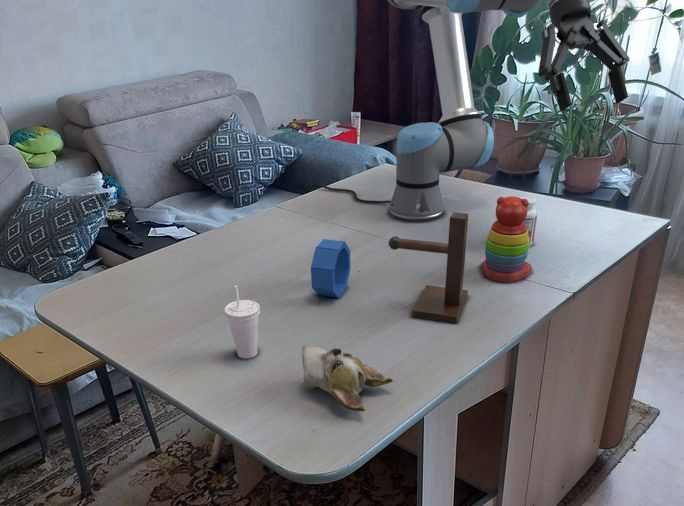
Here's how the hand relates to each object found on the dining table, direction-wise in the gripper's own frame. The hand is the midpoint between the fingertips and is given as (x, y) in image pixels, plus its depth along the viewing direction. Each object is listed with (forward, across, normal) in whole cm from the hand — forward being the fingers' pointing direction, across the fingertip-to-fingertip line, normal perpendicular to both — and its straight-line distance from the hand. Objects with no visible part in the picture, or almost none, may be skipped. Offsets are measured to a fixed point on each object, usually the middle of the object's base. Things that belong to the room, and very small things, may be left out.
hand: (594, 104), depth 128 cm
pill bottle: (+19, 0, +35) cm, 40 cm away
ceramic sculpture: (+43, -64, +2) cm, 77 cm away
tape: (+22, -52, +31) cm, 65 cm away
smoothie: (+32, -76, +17) cm, 84 cm away
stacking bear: (+27, -14, +25) cm, 39 cm away
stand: (+30, -37, +20) cm, 51 cm away
